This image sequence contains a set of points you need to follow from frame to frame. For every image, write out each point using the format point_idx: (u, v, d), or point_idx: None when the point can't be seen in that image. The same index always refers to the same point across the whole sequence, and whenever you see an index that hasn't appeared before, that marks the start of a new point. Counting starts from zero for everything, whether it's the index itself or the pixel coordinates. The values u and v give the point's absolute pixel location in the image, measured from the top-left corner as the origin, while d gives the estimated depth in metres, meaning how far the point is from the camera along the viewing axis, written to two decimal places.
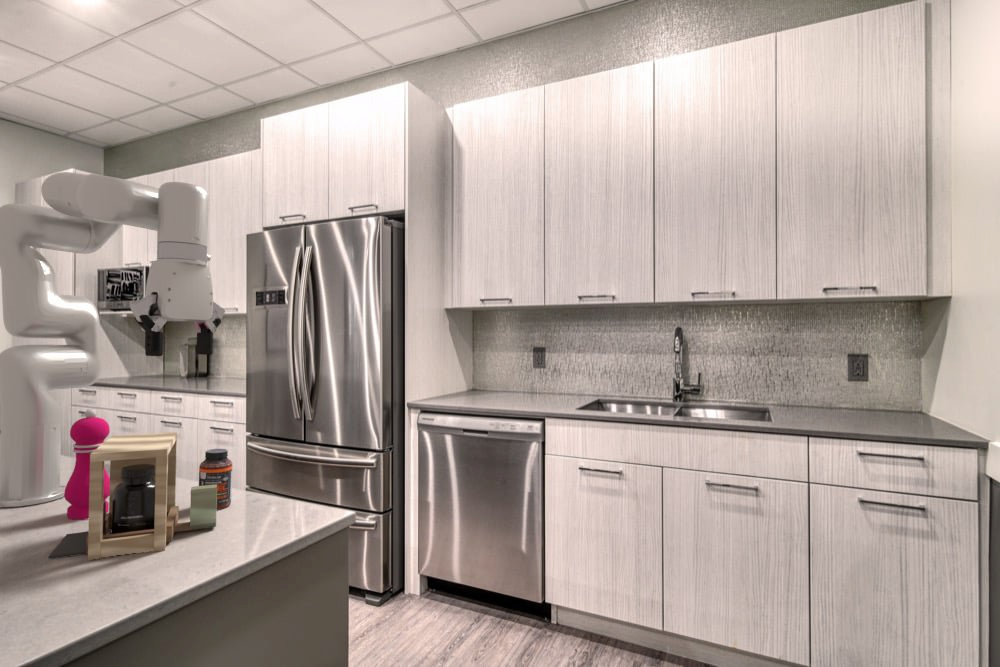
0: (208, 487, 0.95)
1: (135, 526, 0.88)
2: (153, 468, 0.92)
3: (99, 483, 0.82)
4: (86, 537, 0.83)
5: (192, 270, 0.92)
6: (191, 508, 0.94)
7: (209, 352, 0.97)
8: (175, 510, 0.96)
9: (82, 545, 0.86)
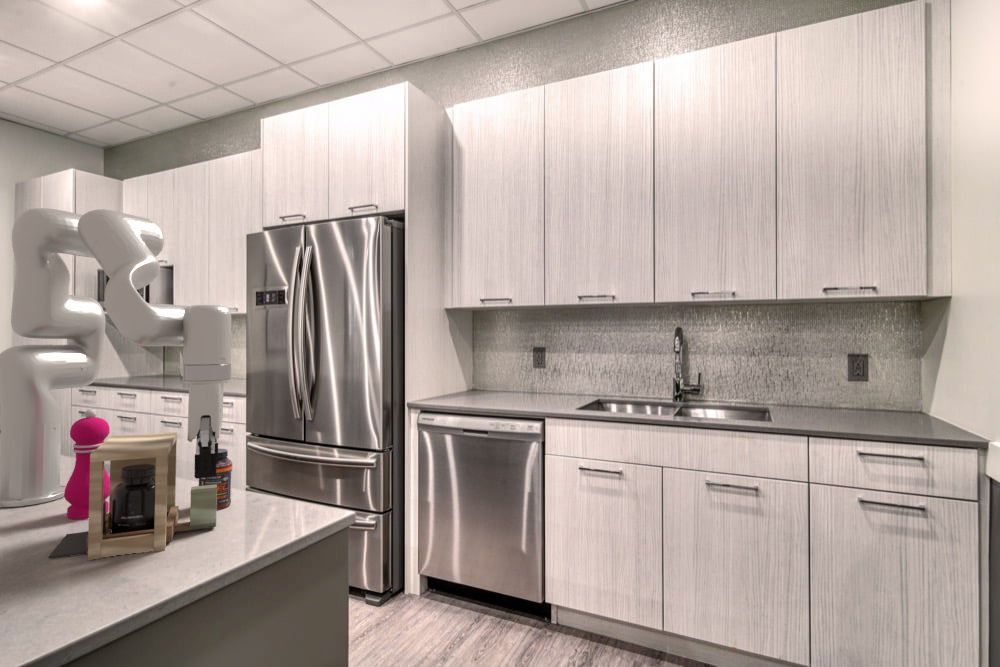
0: (208, 487, 0.95)
1: (135, 526, 0.88)
2: (153, 468, 0.92)
3: (99, 483, 0.82)
4: (86, 537, 0.83)
5: None
6: (191, 508, 0.94)
7: (217, 462, 1.00)
8: (175, 510, 0.96)
9: (82, 545, 0.86)
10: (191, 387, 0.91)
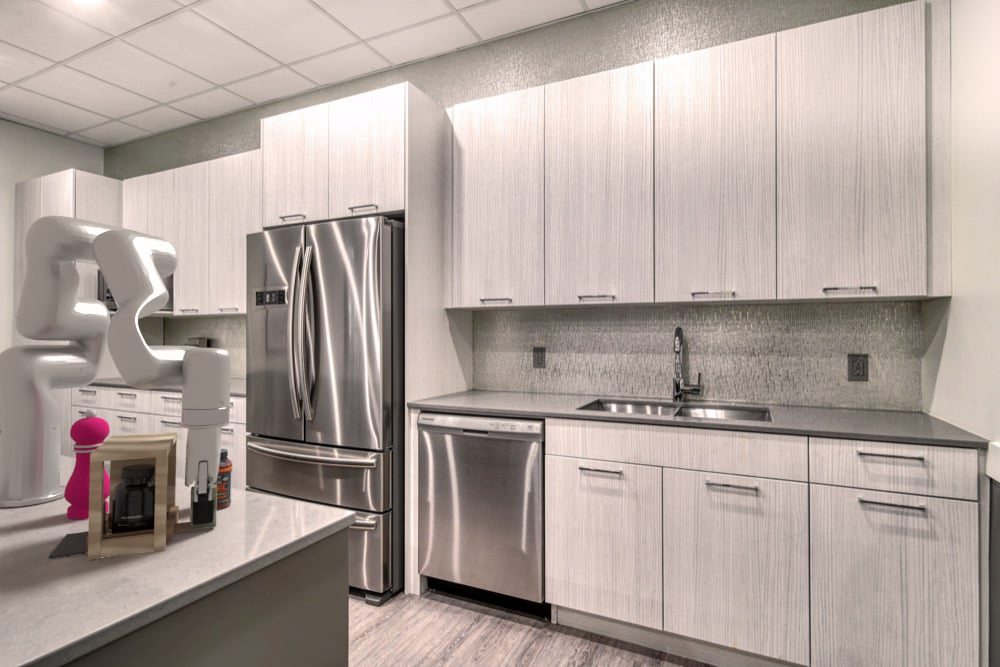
0: (208, 487, 0.95)
1: (135, 526, 0.88)
2: (153, 468, 0.92)
3: (99, 483, 0.82)
4: (86, 537, 0.83)
5: (221, 430, 0.96)
6: (191, 508, 0.94)
7: None
8: (175, 510, 0.96)
9: (82, 545, 0.86)
10: (189, 432, 0.91)
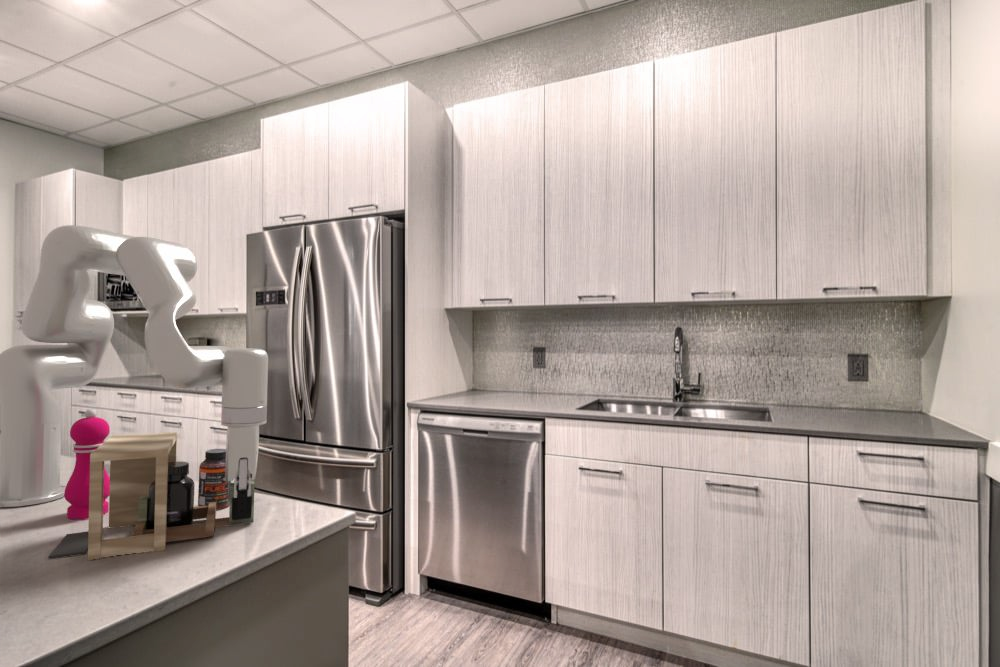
0: None
1: (170, 521, 0.90)
2: (187, 465, 0.94)
3: (99, 483, 0.82)
4: (133, 531, 0.86)
5: None
6: (230, 504, 0.96)
7: None
8: (214, 506, 0.99)
9: (82, 545, 0.86)
10: (230, 430, 0.94)
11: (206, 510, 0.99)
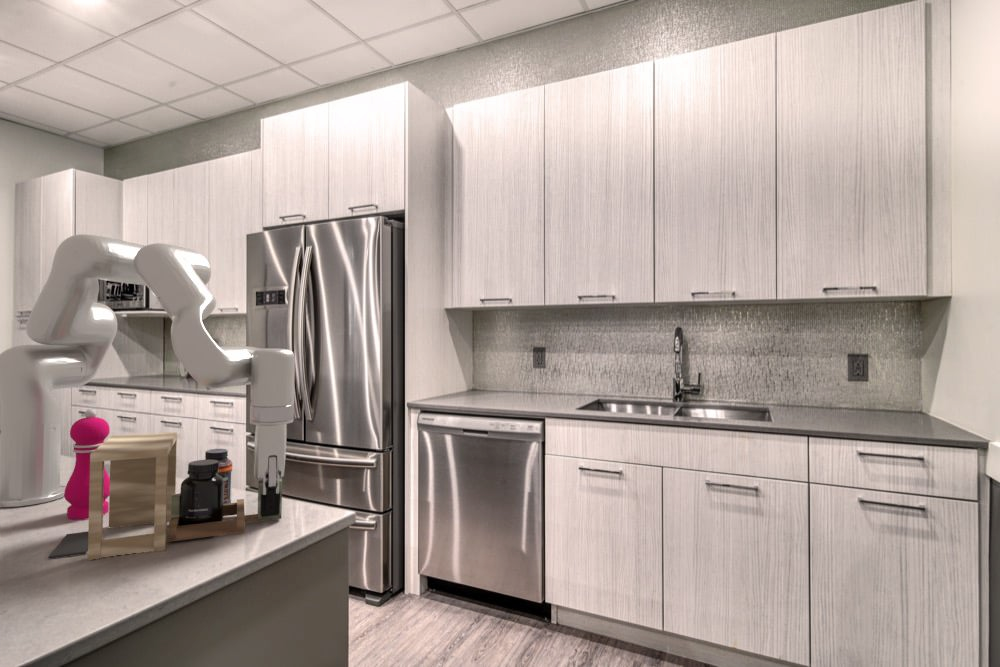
0: None
1: (201, 518, 0.92)
2: (217, 463, 0.95)
3: (99, 483, 0.82)
4: (168, 527, 0.88)
5: None
6: (259, 501, 0.98)
7: None
8: (242, 503, 1.01)
9: (82, 545, 0.86)
10: (259, 428, 0.96)
11: (234, 507, 1.02)
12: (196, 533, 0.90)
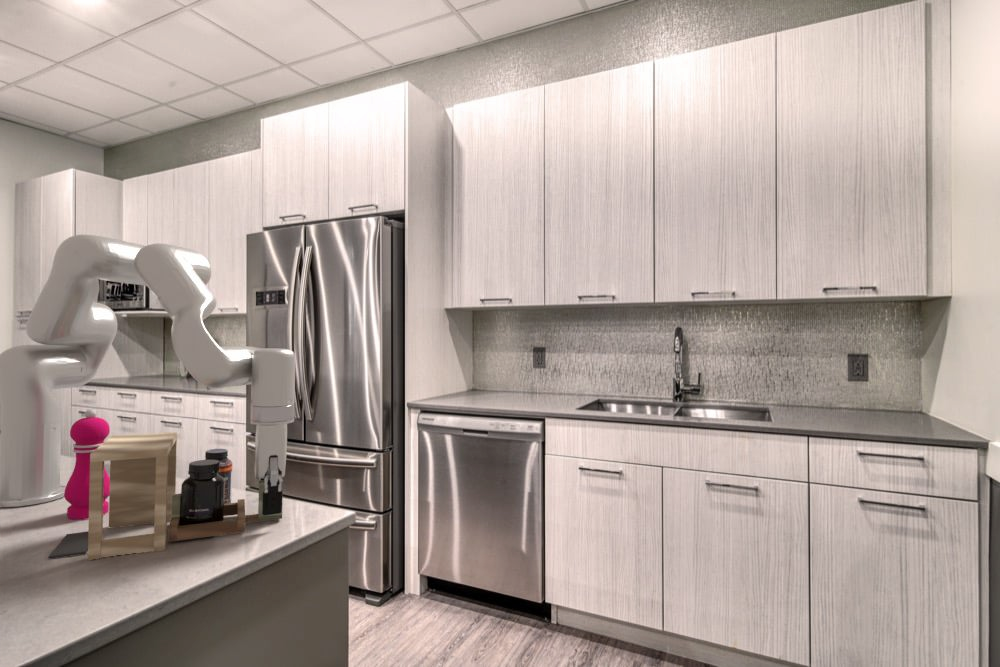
0: None
1: (201, 518, 0.92)
2: (218, 464, 0.95)
3: (99, 483, 0.82)
4: None
5: None
6: (260, 501, 0.98)
7: None
8: (243, 502, 1.01)
9: (82, 545, 0.86)
10: (260, 428, 0.96)
11: (235, 507, 1.02)
12: (197, 533, 0.90)
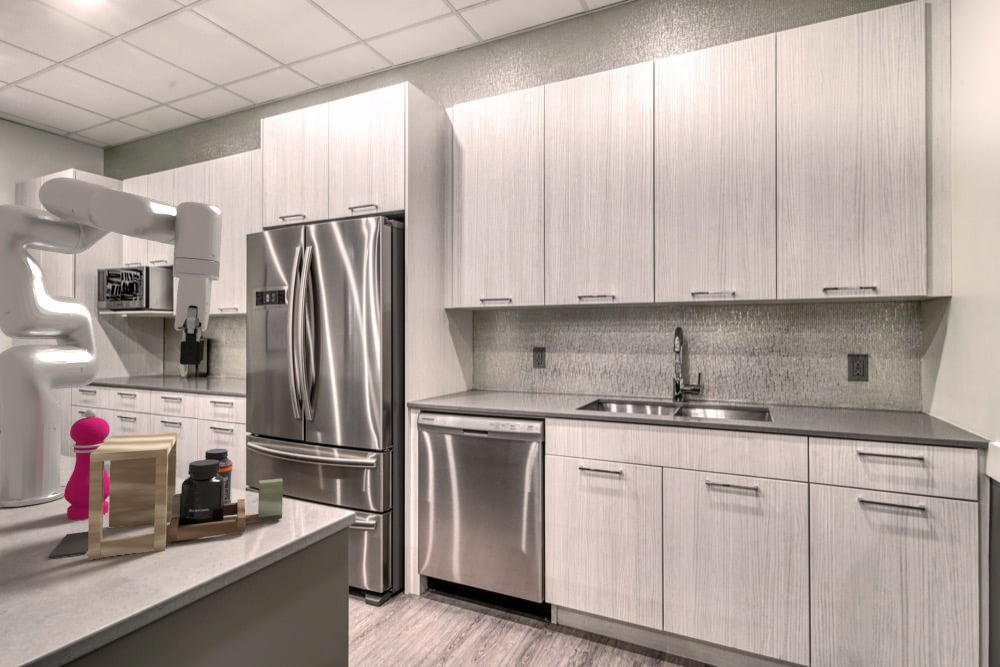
0: (275, 481, 1.00)
1: (201, 518, 0.92)
2: (218, 464, 0.95)
3: (99, 483, 0.82)
4: None
5: None
6: (260, 501, 0.98)
7: (202, 358, 1.05)
8: (243, 502, 1.01)
9: (82, 545, 0.86)
10: (180, 278, 0.95)
11: (235, 507, 1.02)
12: (197, 533, 0.90)
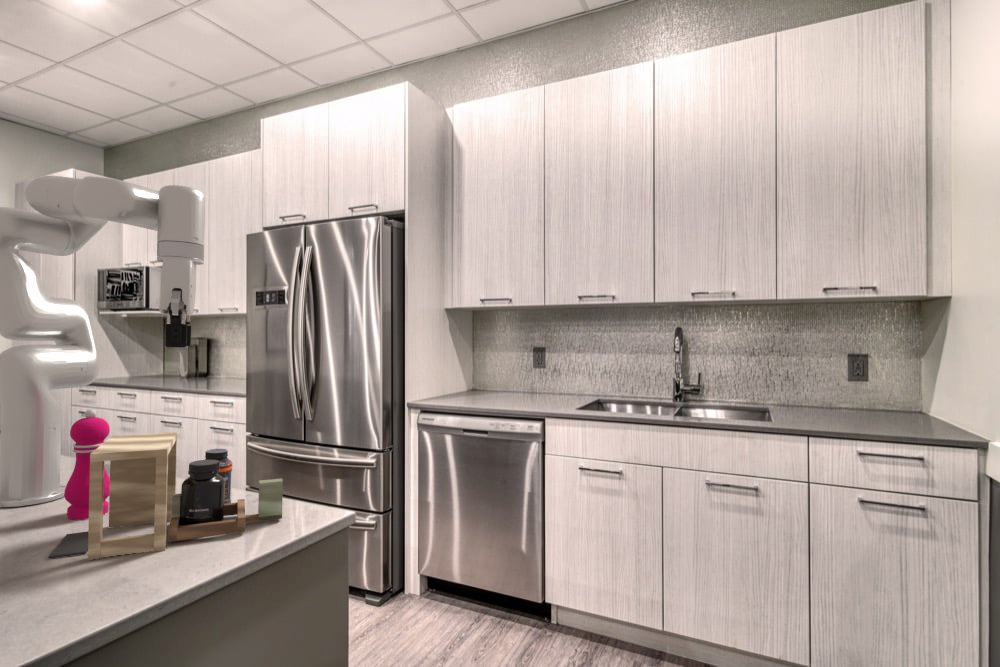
0: (275, 481, 1.00)
1: (201, 518, 0.92)
2: (218, 464, 0.95)
3: (99, 483, 0.82)
4: None
5: None
6: (260, 501, 0.98)
7: (190, 343, 1.04)
8: (243, 502, 1.01)
9: (82, 545, 0.86)
10: (164, 261, 0.95)
11: (235, 507, 1.02)
12: (197, 533, 0.90)
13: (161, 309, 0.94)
